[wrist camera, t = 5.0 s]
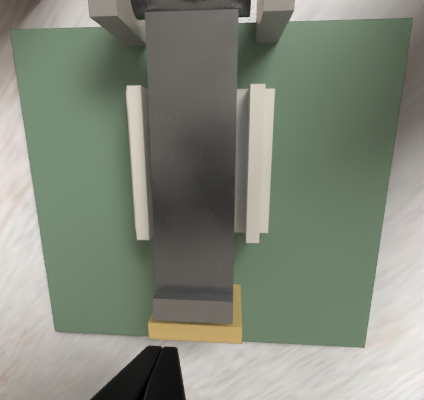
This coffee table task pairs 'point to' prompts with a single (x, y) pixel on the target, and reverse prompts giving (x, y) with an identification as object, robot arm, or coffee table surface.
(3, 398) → the coffee table surface
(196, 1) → the grey hinged lever
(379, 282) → the coffee table surface
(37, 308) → the coffee table surface
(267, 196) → the board
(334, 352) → the coffee table surface
